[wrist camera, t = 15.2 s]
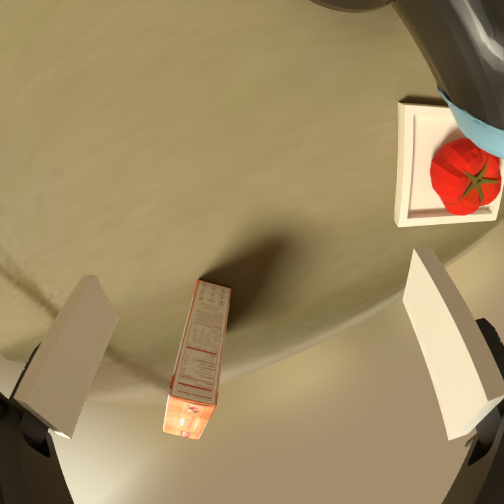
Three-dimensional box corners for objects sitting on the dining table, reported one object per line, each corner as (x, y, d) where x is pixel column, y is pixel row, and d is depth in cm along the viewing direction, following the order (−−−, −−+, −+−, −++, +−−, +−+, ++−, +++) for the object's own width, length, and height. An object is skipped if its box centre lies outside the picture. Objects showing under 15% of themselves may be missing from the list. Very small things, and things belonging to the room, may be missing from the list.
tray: (397, 102, 30) (404, 104, 28) (503, 114, 27) (511, 118, 26) (393, 219, 39) (398, 227, 37) (489, 214, 37) (495, 220, 35)
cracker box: (216, 339, 55) (199, 441, 38) (185, 330, 54) (160, 432, 37) (235, 287, 47) (218, 409, 30) (197, 277, 47) (165, 396, 29)
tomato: (488, 181, 33) (513, 201, 28) (433, 210, 37) (454, 234, 31) (475, 120, 28) (504, 134, 23) (414, 149, 32) (438, 167, 27)
